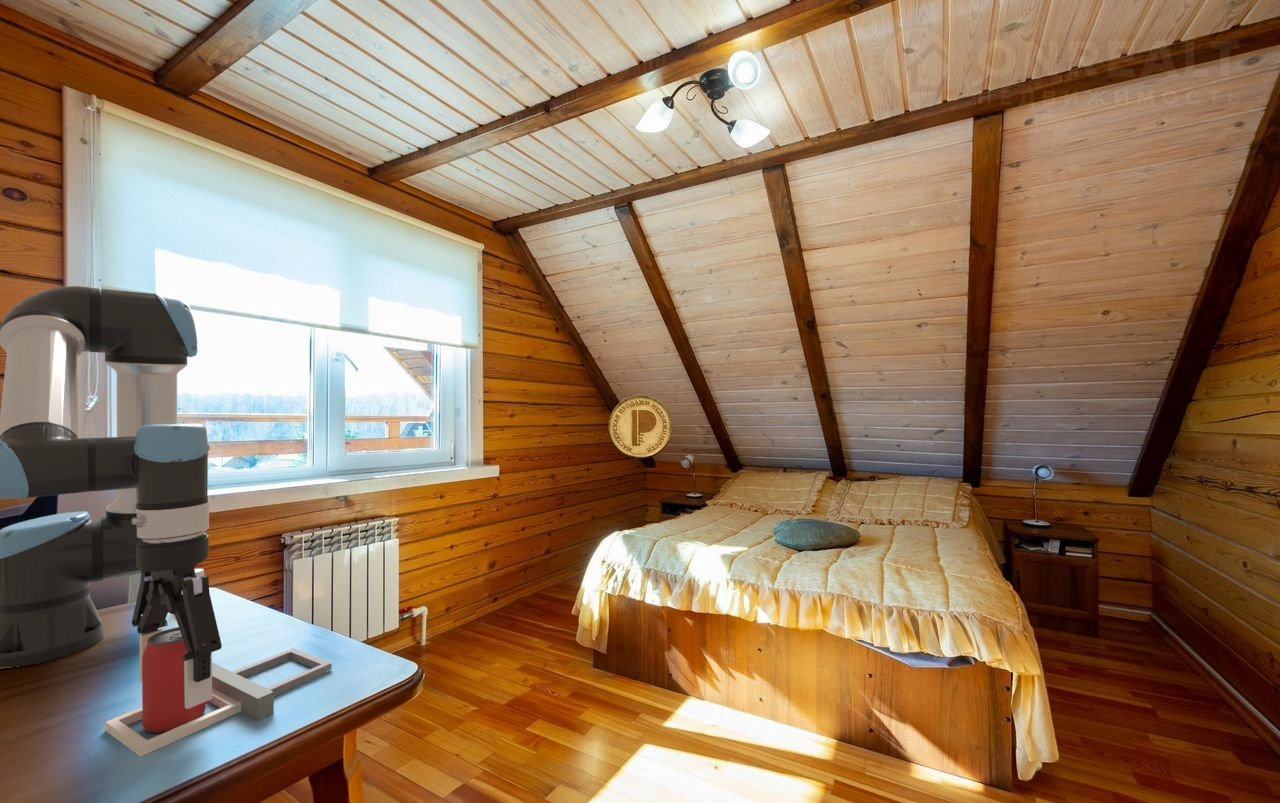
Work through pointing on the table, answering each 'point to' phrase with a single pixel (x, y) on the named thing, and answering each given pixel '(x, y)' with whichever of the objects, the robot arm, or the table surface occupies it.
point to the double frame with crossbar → (223, 700)
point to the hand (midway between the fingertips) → (174, 690)
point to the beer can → (165, 683)
